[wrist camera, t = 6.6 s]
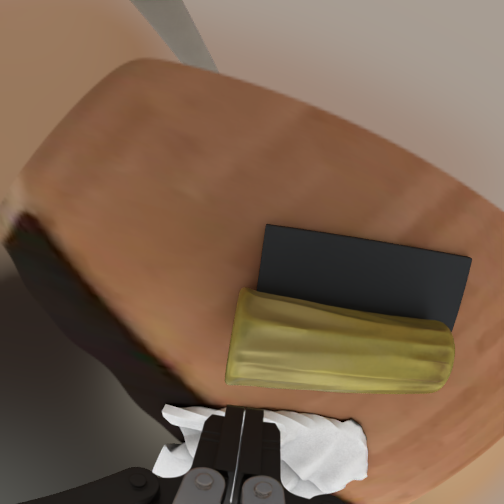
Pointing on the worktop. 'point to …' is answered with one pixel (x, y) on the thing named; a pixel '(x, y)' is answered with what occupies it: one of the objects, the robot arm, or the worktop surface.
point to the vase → (334, 348)
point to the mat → (362, 274)
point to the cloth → (282, 449)
